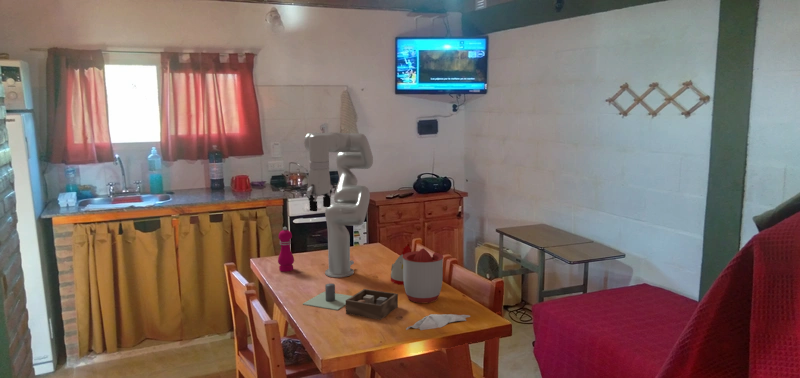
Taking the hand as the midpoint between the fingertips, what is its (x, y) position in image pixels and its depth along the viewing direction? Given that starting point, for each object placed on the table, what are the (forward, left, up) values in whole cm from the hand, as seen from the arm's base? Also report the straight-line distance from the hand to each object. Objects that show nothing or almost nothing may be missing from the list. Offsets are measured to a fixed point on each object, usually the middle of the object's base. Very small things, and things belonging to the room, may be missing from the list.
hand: (320, 209), depth 221 cm
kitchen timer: (-26, +26, -34) cm, 50 cm away
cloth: (+12, +55, -34) cm, 66 cm away
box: (+12, +29, -33) cm, 46 cm away
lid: (+10, +10, -34) cm, 37 cm away
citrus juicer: (-8, +41, -34) cm, 54 cm away
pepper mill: (-17, -30, -34) cm, 48 cm away
